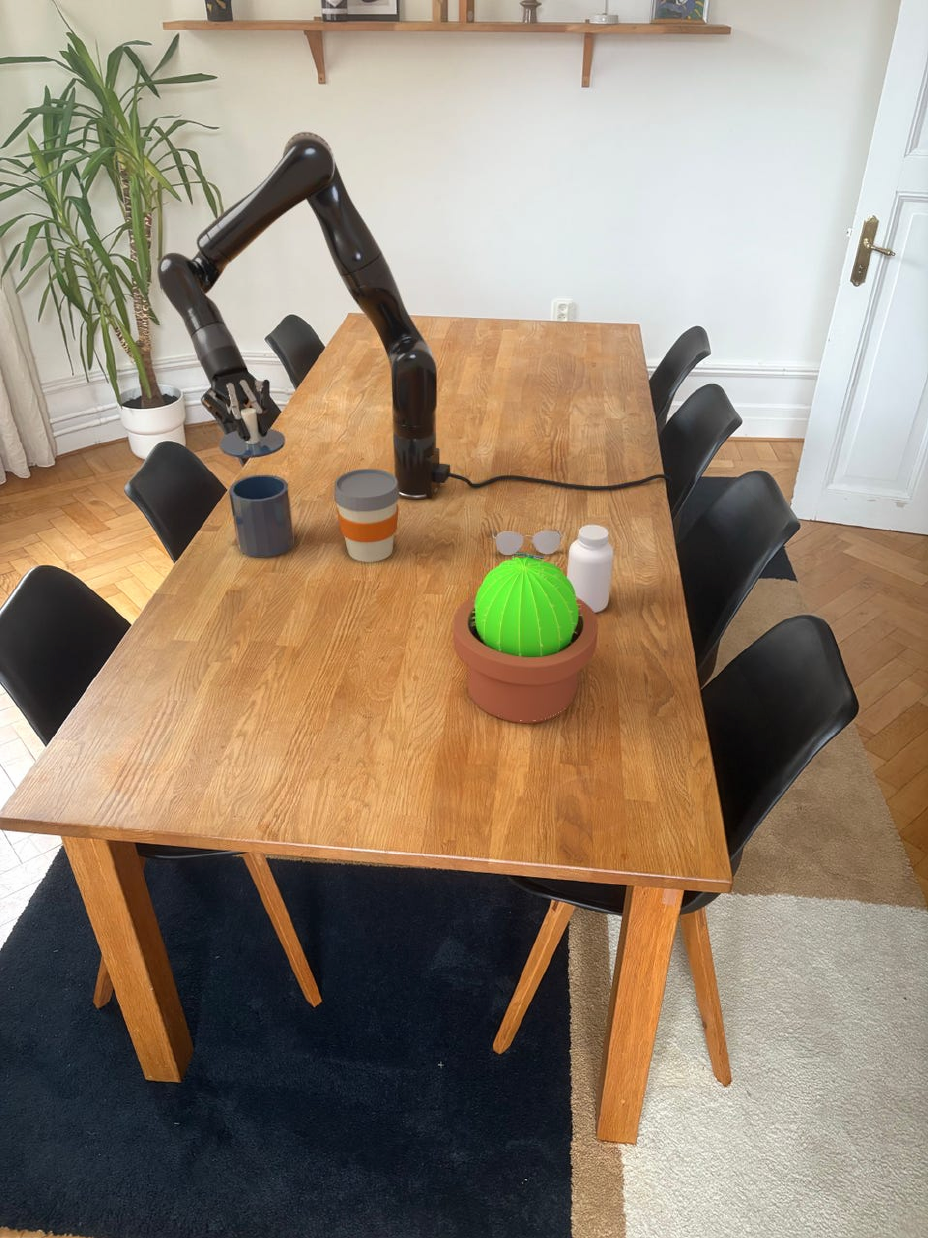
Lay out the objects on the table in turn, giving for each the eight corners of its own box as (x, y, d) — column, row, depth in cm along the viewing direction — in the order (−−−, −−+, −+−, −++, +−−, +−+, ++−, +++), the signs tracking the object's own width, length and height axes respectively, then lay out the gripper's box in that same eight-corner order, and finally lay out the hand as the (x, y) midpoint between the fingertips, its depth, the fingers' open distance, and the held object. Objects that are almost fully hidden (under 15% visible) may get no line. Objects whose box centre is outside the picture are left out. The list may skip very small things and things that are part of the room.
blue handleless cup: (303, 534, 195) (297, 479, 187) (278, 561, 186) (271, 504, 179) (254, 525, 197) (246, 471, 190) (228, 552, 189) (218, 496, 181)
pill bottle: (612, 595, 177) (620, 524, 168) (603, 618, 171) (611, 546, 162) (570, 587, 179) (576, 517, 170) (560, 610, 173) (565, 538, 164)
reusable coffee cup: (412, 542, 192) (410, 475, 183) (382, 572, 183) (378, 503, 174) (358, 529, 196) (354, 463, 188) (326, 558, 187) (320, 490, 178)
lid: (296, 437, 183) (292, 402, 178) (267, 464, 173) (262, 428, 169) (240, 429, 186) (235, 394, 181) (208, 455, 176) (202, 419, 172)
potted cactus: (550, 753, 142) (561, 617, 127) (428, 702, 151) (425, 570, 137) (612, 676, 157) (628, 546, 143) (497, 634, 166) (502, 508, 152)
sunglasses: (492, 555, 188) (493, 531, 186) (490, 540, 196) (490, 517, 193) (562, 554, 189) (563, 530, 186) (556, 538, 196) (557, 516, 194)
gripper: (186, 352, 171) (225, 438, 170) (257, 336, 177) (295, 419, 177) (180, 372, 177) (217, 455, 176) (248, 356, 184) (285, 436, 183)
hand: (256, 436), depth 176 cm, fingers closed on lid, 3 cm apart
